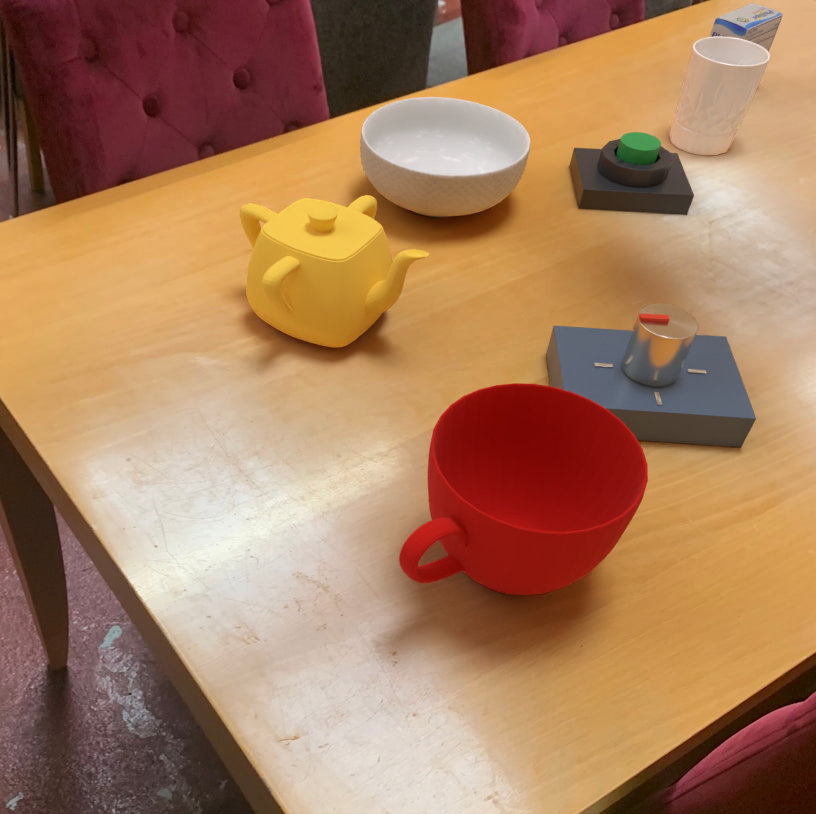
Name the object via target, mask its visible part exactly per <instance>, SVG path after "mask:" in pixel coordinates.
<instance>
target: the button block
mask: <svg viewBox="0 0 816 814" xmlns="http://www.w3.org/2000/svg"><path fill="white" fill-rule="evenodd" d="M620 139H621V138H617V139H614V140H613V139H612V140H609V141H607V143H605V145H603V146H602V148H589V147H573V150H572V153H571V158H570V162H569V166H568V168H569V171H570V176H571V181H572V185H573V191H574V194H575V199H576V204H577V207H578V209H579V210H593V211H594V210H595V211H612V212H613V211H614V212H629V213H630V212H631V213H647V214H665V215H667V214H668V215H681V216H683V215H684V216H687V215H688V213H689V210H690V208H691V205H692V203H693V199H694V197H695V194H694V192H693V189H692V186H691V184H690V181H689V179H688V176H687V174H686V171H685V168H684V166H683V164H682V160H681V159H680V156H679V154H678V152H670V151H669V150H667V149H666V148H665V147H663V146H662V145H661V146H660V150H659V153H658V156H657V159H656V162H655V163H654V164H649V165H635V164H631V163H628V162H625V161H622V160H621V159H619V158H618V157H617V156H616V153H617V150H618V146H619V143H620Z"/></svg>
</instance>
